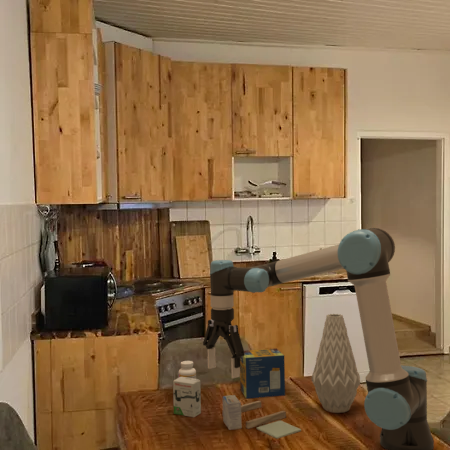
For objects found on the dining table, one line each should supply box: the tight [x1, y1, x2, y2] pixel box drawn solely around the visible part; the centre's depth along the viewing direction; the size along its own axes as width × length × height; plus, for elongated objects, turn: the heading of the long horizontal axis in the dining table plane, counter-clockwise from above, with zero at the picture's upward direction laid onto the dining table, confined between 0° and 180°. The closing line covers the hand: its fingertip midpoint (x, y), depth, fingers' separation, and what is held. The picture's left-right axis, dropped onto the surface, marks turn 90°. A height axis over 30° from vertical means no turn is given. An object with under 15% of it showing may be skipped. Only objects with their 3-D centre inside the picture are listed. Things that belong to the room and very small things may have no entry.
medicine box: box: [222, 394, 243, 431], centre depth 190 cm, size 8×4×9 cm, turn 13°
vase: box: [311, 313, 361, 414], centre depth 203 cm, size 17×17×33 cm
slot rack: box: [221, 400, 287, 430], centre depth 197 cm, size 14×16×2 cm
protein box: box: [239, 348, 286, 399], centre depth 222 cm, size 10×15×16 cm
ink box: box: [172, 376, 202, 418], centre depth 202 cm, size 9×5×12 cm, turn 62°
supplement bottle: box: [178, 360, 197, 379], centre depth 220 cm, size 7×7×13 cm
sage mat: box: [256, 419, 302, 440], centre depth 185 cm, size 10×10×1 cm
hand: (223, 372), depth 190 cm, fingers open, 13 cm apart
